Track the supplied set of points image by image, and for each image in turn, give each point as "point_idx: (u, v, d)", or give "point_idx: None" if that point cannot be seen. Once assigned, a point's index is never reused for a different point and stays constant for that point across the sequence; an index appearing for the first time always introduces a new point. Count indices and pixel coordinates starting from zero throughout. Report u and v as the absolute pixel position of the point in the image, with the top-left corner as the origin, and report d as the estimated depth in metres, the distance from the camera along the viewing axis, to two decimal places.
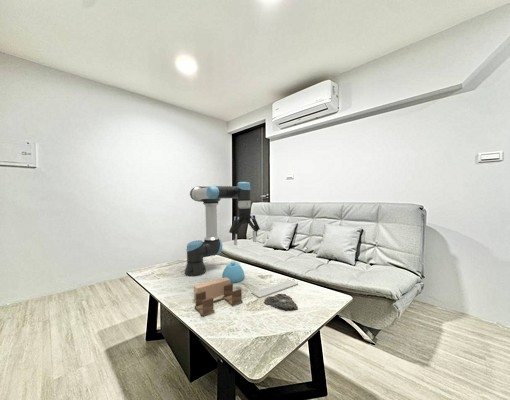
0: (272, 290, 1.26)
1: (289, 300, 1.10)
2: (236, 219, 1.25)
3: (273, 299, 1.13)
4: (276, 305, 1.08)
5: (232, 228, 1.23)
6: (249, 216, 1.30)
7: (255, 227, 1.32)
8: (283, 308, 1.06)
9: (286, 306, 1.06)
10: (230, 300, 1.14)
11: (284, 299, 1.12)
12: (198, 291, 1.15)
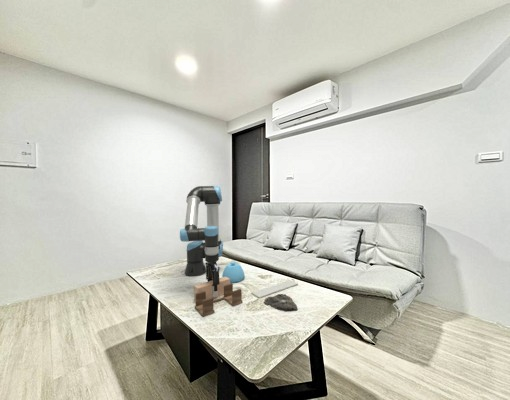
0: (272, 290, 1.26)
1: (289, 300, 1.10)
2: (206, 265, 1.27)
3: (273, 299, 1.12)
4: (276, 305, 1.08)
5: (206, 274, 1.27)
6: (212, 264, 1.19)
7: (213, 281, 1.19)
8: (283, 308, 1.05)
9: (286, 306, 1.05)
10: (230, 300, 1.14)
11: (284, 299, 1.11)
12: (199, 291, 1.15)
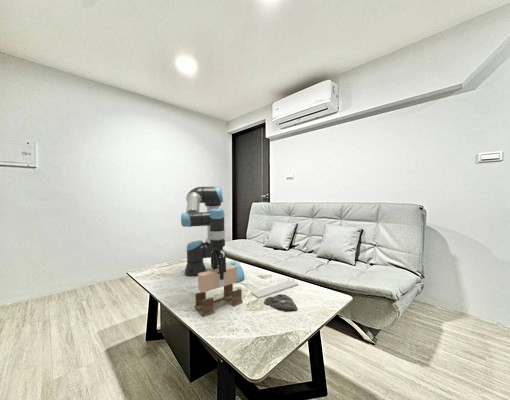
0: (272, 290, 1.26)
1: (289, 301, 1.10)
2: (211, 252, 1.16)
3: (273, 299, 1.12)
4: (275, 306, 1.08)
5: (211, 262, 1.16)
6: (218, 250, 1.08)
7: (219, 268, 1.08)
8: (282, 309, 1.05)
9: (285, 307, 1.05)
10: (230, 300, 1.14)
11: (284, 300, 1.11)
12: (203, 279, 1.04)
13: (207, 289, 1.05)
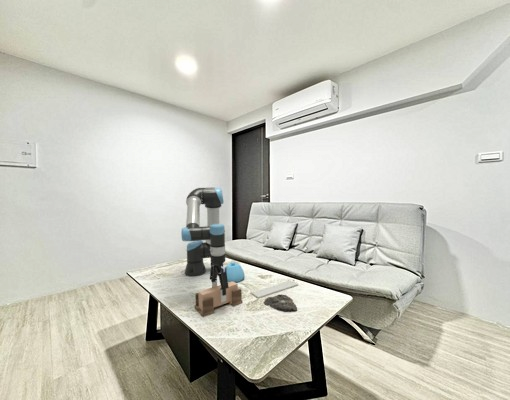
0: (271, 290, 1.26)
1: (289, 301, 1.09)
2: (211, 265, 1.16)
3: (273, 300, 1.12)
4: (275, 306, 1.08)
5: (210, 274, 1.17)
6: (218, 266, 1.09)
7: (221, 283, 1.06)
8: (282, 309, 1.05)
9: (285, 307, 1.05)
10: None
11: (284, 300, 1.11)
12: (204, 298, 1.04)
13: None
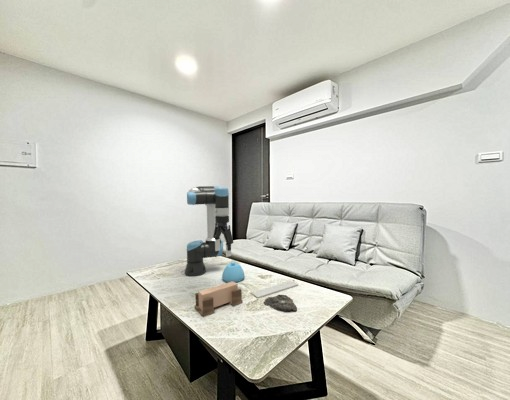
0: (271, 290, 1.26)
1: (289, 301, 1.09)
2: (215, 225, 1.25)
3: (273, 300, 1.12)
4: (275, 306, 1.08)
5: (214, 233, 1.27)
6: (222, 225, 1.17)
7: (226, 239, 1.14)
8: (282, 309, 1.05)
9: (285, 307, 1.04)
10: None
11: (284, 300, 1.10)
12: (204, 298, 1.04)
13: None
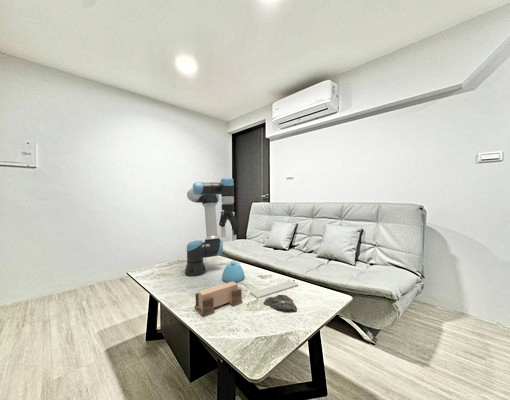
0: (271, 290, 1.26)
1: (289, 301, 1.09)
2: (221, 213, 1.35)
3: (273, 300, 1.12)
4: (275, 306, 1.07)
5: None
6: (228, 212, 1.28)
7: (232, 225, 1.25)
8: (282, 309, 1.04)
9: (285, 307, 1.04)
10: None
11: (284, 300, 1.10)
12: (204, 298, 1.04)
13: None
